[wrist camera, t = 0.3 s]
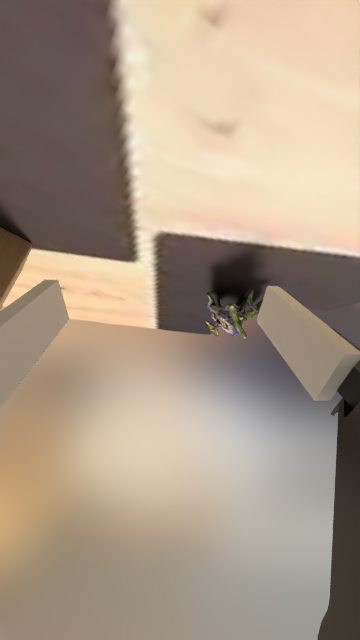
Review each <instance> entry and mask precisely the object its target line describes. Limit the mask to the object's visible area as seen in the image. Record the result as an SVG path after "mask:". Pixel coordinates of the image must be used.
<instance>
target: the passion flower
mask: <svg viewBox="0 0 360 640" xmlns="http://www.w3.org/2000/svg"><path fill="white" fill-rule="evenodd" d="M253 291H254V289H253V290H252V291H251V293H250V294H249V295H247V296H246V297H245V298H244V301H243V303H242V304H241V305H240V306H239V307H238V306H237V305H236V304H227V305H225V306H223V307H222V306H221V305H220V300H219V297H218V295H217V294H216V292H212V291H211V292H208V293H207V294H206V295H207V296H208V297H209V299H210V301H209V302H208V304H207V306H206V307H207V308H208V309H209V311H211V312H210V313H211V317H212V318H213V320H215V321H217V322H216V324H212V323H210V322H208V321H206V325H207V326H208V327H209V328H210V330H211V331H212V332H213V333H214V334H215V335H216V336H218V329H217V327H216V326H217V325H219V326H220V327H222V328H223V329H224V330H225V331H227V332H228V333H229V334H232V336H233V334H234V335H236V336H237V333H238V334H239V333H240V334H242V336H243V337H244V338H246V333H245V331H244V330H243V328H242V327H241V326H242V323H243V320H244V321H246V320H247V317H248V316H249V317H250V318H252V317H253V315H254V312H255V311H257V312H258V313H259V311H258V309H259V308H260V306H261V305H262V302H263V299H264V298H263V299H262V300H261V301H260V302H259V303H258V304H256V305H255V306H253V305H252V295H253ZM247 303H249V304H250V305H251V307H252V308H251V309H248V308H247V307H246V304H247ZM244 307H245V309H244ZM243 309H244V312H243V313H241V311H242V310H243Z"/></svg>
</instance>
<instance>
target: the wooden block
mask: <svg viewBox="0 0 360 640" xmlns="http://www.w3.org/2000/svg"><path fill="white" fill-rule="evenodd" d="M31 248H32V244H31V243H30V242H28V241H26V240H24V239H23V238H21V237H19V236H17V235H15V234H13V233H11V232H9V231H7V230H5V229H3V228H2V227H0V308H1V306H2V305H3V303H4V301H5V299H6V297H7V296H8V294H9V292H10V290H11V289H12V287H13V285H14V283H15V281H16V280H17V278H18V276H19V274H20V272H21V271H22V268H23V266H24V264H25V262H26V259H27V257H28V255H29V253H30V250H31Z"/></svg>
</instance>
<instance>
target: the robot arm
mask: <svg viewBox="0 0 360 640" xmlns="http://www.w3.org/2000/svg"><path fill="white" fill-rule="evenodd" d="M68 320H69V317H68V313H67V310H66V306H65V302H64V299H63V295H62V292H61V288H60V285H59V281H58V280H44V281H42V282H41V283H40V284H38V285H37V286H35V287H34V288H33V289H31V290H30V291H28V292H27V293H26V294H24V295H23V296H21V297H20V298H19V299H17V300H16V301H14V302H13V303H12V304H10V305H9V306H7V307H6V308H5V309H3V310H2V311H0V409H1V408H2V407H3V405H4V404H5V403H6V401H7V400H8V399H9V397H10V396H11V395H12V393H13V392H14V391H15V390H16V388H17V387H18V386H19V384H20V383H21V382H22V380H23V379H24V378H25V376H26V375H27V374H28V373H29V371H30V370H31V369H32V367H33V366H34V365H35V363H36V362H37V361H38V359H39V358H40V357H41V355H42V354H43V353H44V352H45V350H46V349H47V348H48V346H49V345H50V344H51V342H52V341H53V340H54V338H55V337H56V336H57V334H58V333H59V332H60V330H61V329H62V328H63V326H64V325H65V324H66V323H67V321H68ZM257 323H258V324H259V325H260V327H261V328H262V329H263V331H264V332H265V333H266V335H267V336H268V338H269V339H270V340H271V342H272V343H273V345H274V346H275V347H276V349H277V350H278V351H279V353H280V354H281V355H282V357H283V358H284V360H285V361H286V362H287V364H288V365H289V366H290V368H291V369H292V370H293V372H294V373H295V375H296V376H297V377H298V379H299V380H300V381H301V383H302V384H303V386H304V387H305V388H306V389H307V391H308V393H309V394H310V395H311V397H312V398H313V399H314V401H322V400H331V399H332V397H333V396H334V395H335V393H336V392H337V391H338V392H339V394H340V395H341V396H342V397H343V398H342V399H341V400H340V402H339V403H338V404H337V406H336V407H335V408H334V410H333V411H332V413H331V415H334V414H335V413H336V412H338V436H337V455H336V457H337V458H336V477H335V499H334V500H335V501H334V520H333V543H332V565H331V566H332V567H331V586H330V587H331V588H330V601H329V606H328V610H327V612H326V615H325V616H324V618H323V620H322V623H321V626H320V630H319V634H318V640H360V349H359V348H358V347H356V346H355V345H354V344H353V343H351V342H350V341H348V340H347V339H346V338H345V337H344V336H342V335H341V334H340V333H339V332H337V331H336V330H335V329H334V328H332V327H330V326H328V325H326V324H325V323H324V322H322V321H321V320H320V319H319V318H317V317H316V316H315V315H314V314H312V313H311V312H310V311H309V310H307V309H306V308H305V307H304V306H302V305H301V304H300V303H299V302H298V301H296V300H295V299H294V298H293V297H291V296H290V295H289V294H288V293H286V292H285V291H284V290H283V289H281V288H280V287H279V286H267V289H266V292H265V296H264V299H263V302H262V305H261V308H260V312H259V315H258V318H257Z"/></svg>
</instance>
